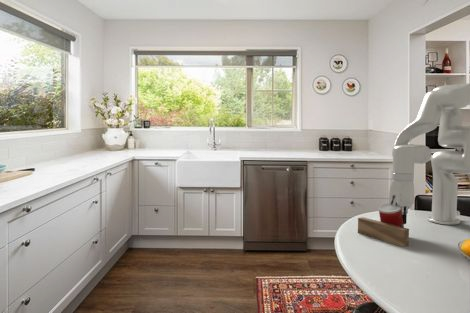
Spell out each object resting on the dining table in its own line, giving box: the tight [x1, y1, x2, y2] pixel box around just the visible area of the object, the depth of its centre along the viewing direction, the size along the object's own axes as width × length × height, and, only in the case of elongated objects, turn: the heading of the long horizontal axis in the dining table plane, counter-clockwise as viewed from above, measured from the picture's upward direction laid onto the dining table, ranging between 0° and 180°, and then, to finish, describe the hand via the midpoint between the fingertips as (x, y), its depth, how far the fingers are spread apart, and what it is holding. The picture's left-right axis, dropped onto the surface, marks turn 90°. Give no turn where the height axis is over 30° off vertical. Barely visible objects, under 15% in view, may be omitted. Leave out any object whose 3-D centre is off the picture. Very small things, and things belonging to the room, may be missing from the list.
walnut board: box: [357, 216, 410, 247], centre depth 137 cm, size 3×20×6 cm, turn 31°
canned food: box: [378, 203, 405, 228], centre depth 139 cm, size 8×8×11 cm
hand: (401, 223), depth 142 cm, fingers closed
